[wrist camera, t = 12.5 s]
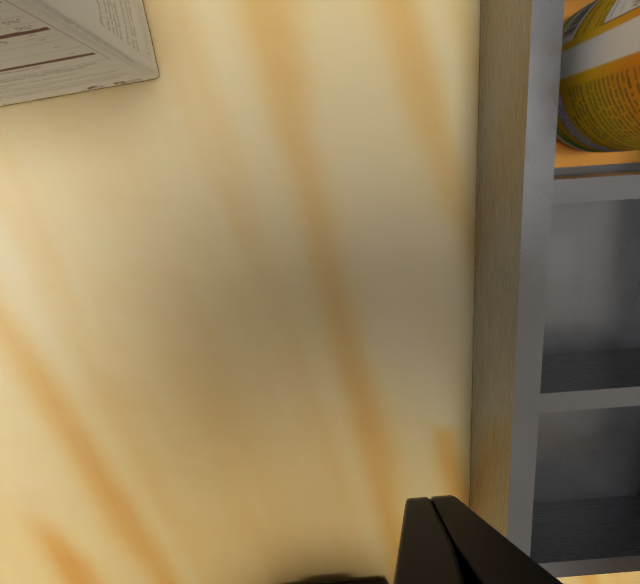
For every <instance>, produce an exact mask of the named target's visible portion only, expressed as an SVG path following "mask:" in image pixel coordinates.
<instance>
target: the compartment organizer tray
mask: <svg viewBox="0 0 640 584" xmlns="http://www.w3.org/2000/svg"><path fill="white" fill-rule="evenodd" d="M593 1H595V0H481V20H480V65H479V110H478V155H477V200H476V245H475V290H474V335H473V380H472V425H471V470H470V509H471V510H472V511H473V512H475V513H476V514H477V515H478V516H480V517H481V518H482V519H483V520H485V521H486V522H487V523H488V524H490V525H491V526H492V527H493V528H494V529H496V530H497V531H498V532H499V533H501V534H502V535H503V536H504V537H506V538H507V539H508V540H509V541H511V542H512V543H513V544H514V545H515V546H517V547H518V548H519V549H520V550H522V551H523V552H524V553H525V554H527V555H528V556H529V557H530V558H532V559H533V560H534V561H535V562H537V563H538V564H539V565H540V566H541V567H543V568H544V569H545V570H546V571H548V572H549V573H550V574H551V575H553V576H554V577H555V578H557V577H570V576H582V575H594V574H606V573H619V572H631V571H640V150H635V151H623V152H586V151H581V150H578V149H575V148H572V147H570V146H568V145H566V144H564V143H563V142H561V141H560V140H558V139H557V138H556V132H557V116H558V100H559V84H560V69H561V53H562V37H563V23H564V22H565V21H566V20H567V19H568V18H569V17H571V16H572V15H573V14H575V13H576V12H578V11H579V10H580V9H582V8H583V7H585V6H586V5H588V4H590V3H591V2H593Z"/></svg>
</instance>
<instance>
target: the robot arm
mask: <svg viewBox="0 0 640 584" xmlns="http://www.w3.org/2000/svg"><path fill="white" fill-rule="evenodd" d="M321 584H389V583H388V582H387V581H386V580H384V579H371V580H358V581H346V582H333V583H321ZM393 584H563V583H561V582H560V581H559V580H558V579H556V578H555V577H554V576H553V575H551V574H550V573H549V572H548V571H546V570H545V569H544V568H543V567H541V566H540V565H539V564H538V563H537V562H535V561H534V560H533V559H532V558H530V557H529V556H528V555H527V554H525V553H524V552H523V551H522V550H520V549H519V548H518V547H517V546H515V545H514V544H513V543H512V542H511V541H509V540H508V539H507V538H506V537H504V536H503V535H502V534H501V533H499V532H498V531H497V530H496V529H494V528H493V527H492V526H491V525H490V524H488V523H487V522H486V521H485V520H483V519H482V518H481V517H480V516H478V515H477V514H476V513H475V512H473V511H472V510H471V509H470V508H468V507H467V506H466V505H465V504H464V503H462V502H461V501H460V500H459V499H457V498H456V497H454V496H452V495H446V496H434V497H432V498H431V499H429V498H427V497H420V498H409V499H407V501H406V504H405V511H404V517H403V524H402V530H401V537H400V544H399V550H398V557H397V563H396V570H395V576H394V583H393Z"/></svg>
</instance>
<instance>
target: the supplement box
mask: <svg viewBox="0 0 640 584" xmlns="http://www.w3.org/2000/svg"><path fill="white" fill-rule="evenodd" d="M158 76H159V72H158V68H157V64H156V60H155V55H154V50H153V46H152V41H151V36H150V32H149V28H148V24H147V20H146V15H145V11H144V7H143V3H142V0H0V106H4V105H10V104H15V103H20V102H26V101H31V100H37V99H43V98H48V97H54V96H59V95H65V94H71V93H76V92H82V91H87V90H93V89H99V88H104V87H111V86H116V85H122V84H127V83H132V82H138V81H144V80H150V79H155V78H158Z"/></svg>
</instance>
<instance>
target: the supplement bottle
mask: <svg viewBox="0 0 640 584" xmlns="http://www.w3.org/2000/svg"><path fill="white" fill-rule="evenodd" d="M556 138H557V139H558V140H560V141H561V142H563V143H564V144H566V145H568V146H570V147H572V148H575V149H578V150H581V151H586V152H623V151H635V150H640V0H595V1H593V2H591V3H590V4H588V5H586V6H585V7H583V8H582V9H580V10H579V11H578V12H576V13H575V14H573V15H572V16H571V17H569V18H568V19H567V20H566V21H565V22H564V23H563V37H562V53H561V69H560V84H559V100H558V116H557V132H556Z"/></svg>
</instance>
